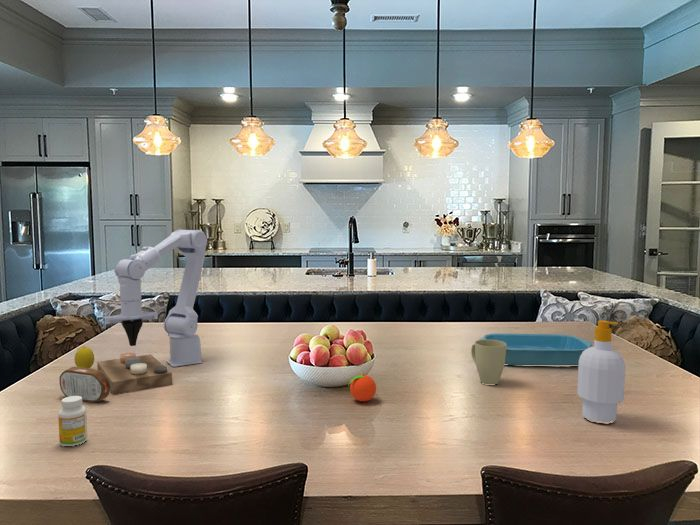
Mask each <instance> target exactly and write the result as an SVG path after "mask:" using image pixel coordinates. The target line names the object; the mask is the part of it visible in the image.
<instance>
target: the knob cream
mask: <svg viewBox="0 0 700 525" xmlns="http://www.w3.org/2000/svg"><path fill="white" fill-rule="evenodd" d="M130 370H131V374H134V375H140V374H143V373H146V372H147V364H145V363H136V364H132V365H131V366H130Z"/></svg>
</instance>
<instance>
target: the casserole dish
mask: <svg viewBox="0 0 700 525" xmlns="http://www.w3.org/2000/svg"><path fill="white" fill-rule="evenodd" d="M486 339H488V340H498V341H502V342H505V343H506V344H507V346H506V356H505V364H508V365H579V359H580V356H581V354H582V352H583V351H584V350H586V349H588V348H590V347H593V345H594V344H593V342H591V341H590V340H588V339H585V338H581V337H578V336H574V335H570V334H568V335H567V334H558V333H557V334H556V333H554V334H553V333H548V334H547V333H487V334H484V335H483V337H480V338H479V339H478V340H486Z"/></svg>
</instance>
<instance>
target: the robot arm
mask: <svg viewBox="0 0 700 525" xmlns="http://www.w3.org/2000/svg"><path fill="white" fill-rule="evenodd" d="M207 243H208V238H207V236H206V234H205V232H203V230H201V229H195V230H194V229H180V228H179V229H177V230H175V231H173V232H171V233H170V235H168V237H166V238H164V240H162V241H161V242H159V243H158V244H156V245H155V246H154V247H152V246H143V247H141V250H140V251H138V252H137V253H135V254H131V255H130V256H129V257H128V258H124V259H121V260H119V261H118V262H117V264H116V266H115V268H114V274H115V276H116V277H117V280H118V283H119V294H120V314H116V315H108V316H104V324H105V325H110V324H119V323H120V324H121V326H122V328H123V329H124V331H125V333H126V336H127V338H128V342H129V343H128V344H129V346H130V347H133V346H137V339H138V336H139V333H140V330H141V329H142V327H143V325H144V324H143V323H144V322H143V321H146V320H158V319H159V318H158V312H157V311H144V312H143V310H142V284H141V283H142V282H141V280H142V278H143V277H144V276H145V273H146V271H147V270H149V269H151V268H152V267H154V266H155V265H157V264H158V263H160V259H161V257H162V256H164V255H166V254H167V253H169V252H171V251H173V250H174V249H177V251H179V252H180V253H181V254H182V255H183V256H184V257H185V258H186V264H185V266H184V271H183V276H182V279H181V284H180V287H179V292H178V296H177V300H176V304H175V306H173V307H172V308H171V309H170V310H169V311H168V314H167V316H166V318H165V320H164V322H163V329H164V331H165V332H166V333H167V337H169V359H166V362H167V363H168V364H169V365H170V366H171V367H173V368H175V367H182V366H189V365H195V364H201V363H202V355H201V354H202V352H201V351H202V349H201V345H202V344H201V339H200V338H201V337H200V336H199V335H198V334H196V332H197V330H198V326H199V325H198V318H199V315H198V314H197V312H196V311H195V310H194V307H195V306H194V304H195V301H196V297H197V293H198V288H199V284H200V280H201V275H202V271H203V267H204V264H205V260H206V259H205V258H206V257H205V256H206V248H207Z"/></svg>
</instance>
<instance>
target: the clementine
mask: <svg viewBox="0 0 700 525" xmlns="http://www.w3.org/2000/svg"><path fill="white" fill-rule="evenodd" d="M347 387H350V388H349V389H350V390H349V391H350V394H351V395H352V397H353V398H354V399H355V400H356V401H359V402H365V403H366V402H368V401H370V400H372V399H373V398H374V396H375V394H376V391H377V385H376V383H375V380H374V379H373V378H372V377H370V376H369V375H368V374H359V375H356V376H354V377H353V378H352V379H350V380H349V382H348V386H347Z"/></svg>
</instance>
